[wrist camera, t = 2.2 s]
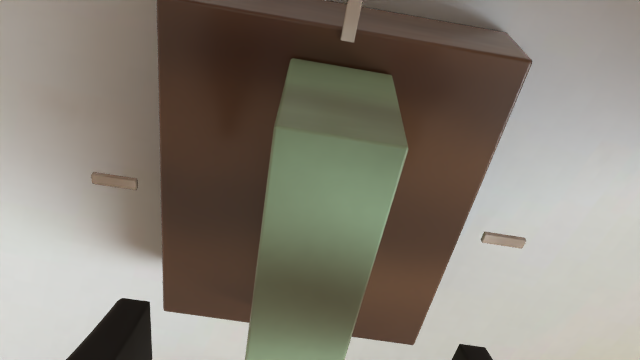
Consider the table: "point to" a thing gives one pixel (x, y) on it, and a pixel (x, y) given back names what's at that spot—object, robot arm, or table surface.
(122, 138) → the table surface
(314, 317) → the mint green brick
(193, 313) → the brown piece
